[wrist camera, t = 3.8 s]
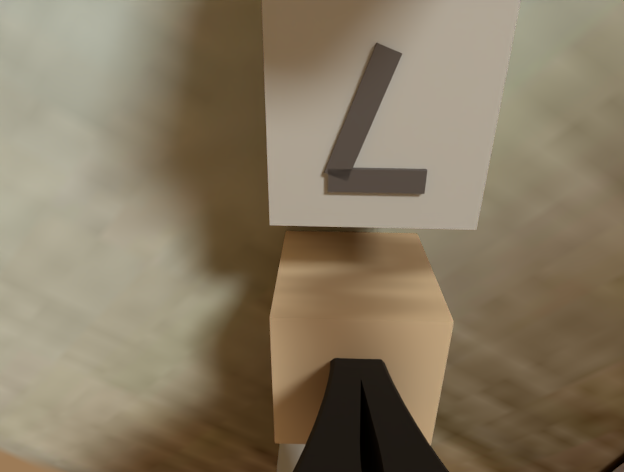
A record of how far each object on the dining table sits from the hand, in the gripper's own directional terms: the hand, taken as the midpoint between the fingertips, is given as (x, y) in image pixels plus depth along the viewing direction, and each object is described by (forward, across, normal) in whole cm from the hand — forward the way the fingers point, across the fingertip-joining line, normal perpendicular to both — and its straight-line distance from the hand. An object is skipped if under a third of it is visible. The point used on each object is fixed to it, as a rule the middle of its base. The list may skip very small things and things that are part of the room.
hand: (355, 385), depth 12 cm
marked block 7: (+5, 0, -7) cm, 9 cm away
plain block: (+5, 0, 0) cm, 5 cm away
